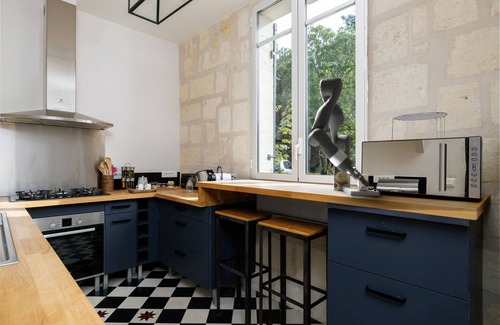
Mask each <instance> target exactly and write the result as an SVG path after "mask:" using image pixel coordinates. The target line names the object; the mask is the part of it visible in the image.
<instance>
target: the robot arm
mask: <svg viewBox="0 0 500 325" xmlns="http://www.w3.org/2000/svg"><path fill="white" fill-rule="evenodd" d="M342 90H343V80H342V79H341V78H340V77H327V78H326V77H325V78H322V79H321V80H320V82H319V91H320V97H321V98H322V101H323V105H322V106H321V107H320V108H319V109H318V110H317V113H316V114H315V118H314V123H313V126H312V127H311V130H310V131H309V132H310V133H309V135H308V138H307V140H308V143H309V145H310V146H312V147H318V146H320V147H321V148H322V150H321V152H322V154H323V156H325V157H326V158H327V159H328V160H329V161H330V162H331V163H332V164H333V166H334V165H335V166H336V167H337V168H338V169H339V170H340V171H341V172H345V171H346V170H347V171H348V174H349V175H350V177H351V178H352V179H354V180H356V181H357V179H358V180H359V181H360V182H361V183H362V184H363V185H365V186H366V187H365V188H369V186H370V183H369V181H368V182H367V181H366V180H365V179H364V176H362V175H361V174H362V173H361V172H360V171H359V170H358V169H357V168H356V167H355V166H354V167H353V164H354V161H353V160H352V159H351V142H352V141H351V136H350V135H349V134H342V135H338V133H339V131H340V129H341V127H342V126H343V124H344V122H345V115H344V111H343V108H341V106H340V105H339V104H338V103H337V102H338V100H339V98H340V96H341V93H342ZM328 126H329V127H328ZM327 128H329V130H330V136H331V137H330V136H329V134H328V133H327V132H326V129H327ZM342 150H343V151H342ZM359 176H361V178H360V179H359Z"/></svg>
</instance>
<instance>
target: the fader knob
mask: <svg viewBox="0 0 500 325" xmlns="http://www.w3.org/2000/svg"><path fill="white" fill-rule="evenodd" d="M361 175H362V176H364V179H365V180H366V181H367V182H368V183H369V174H368V173H361ZM360 178H361V176H359V179H360ZM356 182H357V184H356V186H357V188H358V190H368V188H369V187H366V186H365V185H363V184H362V183H361V182H360V181H359V180H358V179H357V180H356Z"/></svg>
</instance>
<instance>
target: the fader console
mask: <svg viewBox="0 0 500 325" xmlns="http://www.w3.org/2000/svg"><path fill="white" fill-rule="evenodd" d="M358 188H359V187H350V188H344V187H343V190H342V191H343V192H344V193H345V194H347V195H349V196H358V197H359V196H363V197H364V196H365V197H367V196H368V197H369V196H370V197H375V196H376V197H379V196H380V191H379V190H376V191H374V190H375V189H373V190H358Z"/></svg>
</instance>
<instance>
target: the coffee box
mask: <svg viewBox="0 0 500 325" xmlns="http://www.w3.org/2000/svg"><path fill="white" fill-rule="evenodd" d="M343 187H344V188H351V175H349V174H348V171H347V170H346V171H345V172H341V171H340V170H339V169H338V168H337V167H336V166H335V165H334V164H333V191H343Z"/></svg>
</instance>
